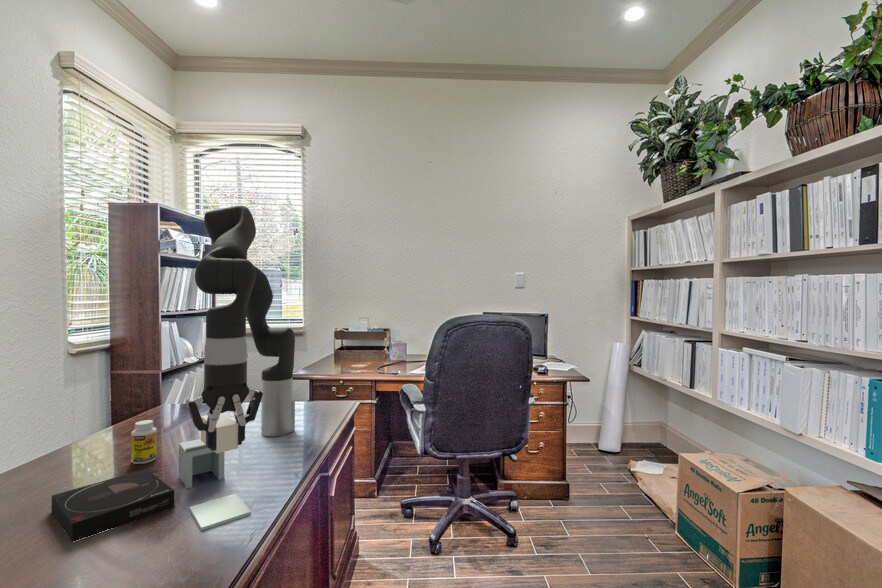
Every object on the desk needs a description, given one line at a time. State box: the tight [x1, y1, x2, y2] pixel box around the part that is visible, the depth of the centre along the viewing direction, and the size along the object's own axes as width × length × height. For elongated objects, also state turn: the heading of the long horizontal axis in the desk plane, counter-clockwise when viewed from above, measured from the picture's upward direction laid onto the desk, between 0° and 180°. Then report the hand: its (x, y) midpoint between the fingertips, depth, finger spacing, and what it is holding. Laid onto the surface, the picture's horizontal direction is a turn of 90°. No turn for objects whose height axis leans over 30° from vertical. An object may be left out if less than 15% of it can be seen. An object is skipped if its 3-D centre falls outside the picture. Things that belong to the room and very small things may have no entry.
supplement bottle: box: [130, 419, 158, 465], centre depth 112 cm, size 6×6×10 cm
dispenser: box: [178, 438, 226, 489], centre depth 103 cm, size 8×8×9 cm
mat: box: [189, 493, 252, 532], centre depth 87 cm, size 9×10×1 cm
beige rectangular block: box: [200, 413, 239, 454], centre depth 87 cm, size 4×10×5 cm, turn 45°
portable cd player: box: [50, 468, 175, 543], centre depth 88 cm, size 16×17×4 cm
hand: (225, 446), depth 84 cm, fingers closed on beige rectangular block, 4 cm apart
